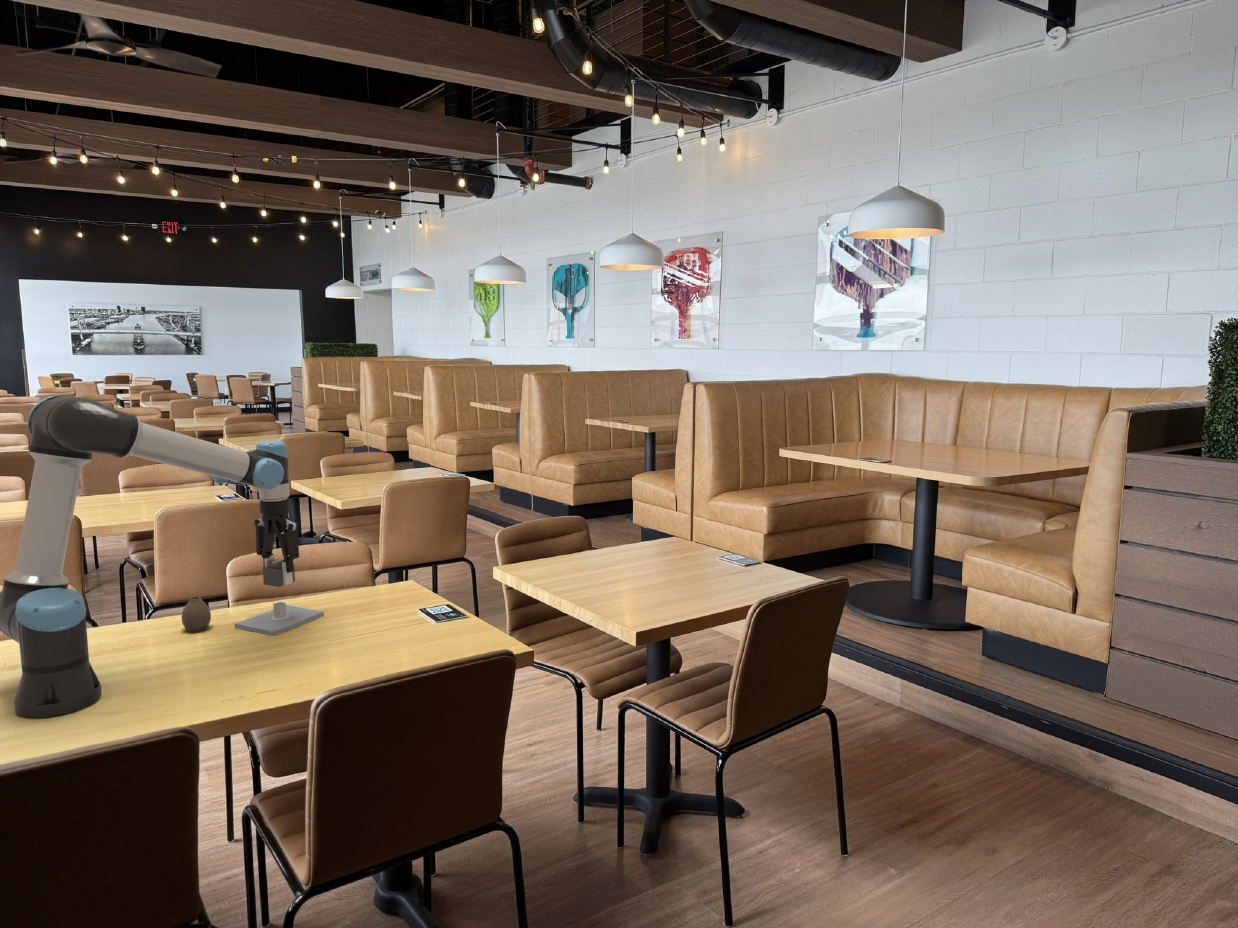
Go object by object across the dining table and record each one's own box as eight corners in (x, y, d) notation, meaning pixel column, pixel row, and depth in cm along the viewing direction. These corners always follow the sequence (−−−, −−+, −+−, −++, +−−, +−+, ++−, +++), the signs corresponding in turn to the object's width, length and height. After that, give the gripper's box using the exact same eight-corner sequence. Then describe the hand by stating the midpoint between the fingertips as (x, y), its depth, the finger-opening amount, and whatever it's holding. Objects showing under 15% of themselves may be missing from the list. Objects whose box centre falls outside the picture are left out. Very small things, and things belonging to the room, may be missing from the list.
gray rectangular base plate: (273, 635, 213) (272, 616, 212) (234, 627, 219) (233, 609, 218) (324, 615, 229) (323, 597, 229) (286, 608, 235) (285, 591, 234)
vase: (203, 634, 214) (201, 601, 212) (177, 633, 214) (174, 601, 213) (216, 625, 221) (214, 593, 219) (191, 624, 221) (189, 593, 219)
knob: (279, 586, 219) (277, 564, 218) (263, 584, 221) (262, 561, 220) (295, 581, 224) (293, 559, 223) (279, 578, 226) (278, 556, 225)
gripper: (311, 499, 219) (315, 582, 222) (260, 493, 226) (264, 574, 230) (290, 504, 212) (294, 590, 215) (237, 498, 219) (242, 581, 223)
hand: (279, 582), depth 223 cm, fingers closed on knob, 6 cm apart
